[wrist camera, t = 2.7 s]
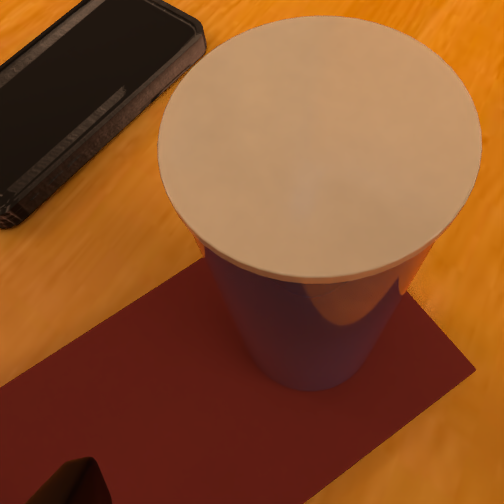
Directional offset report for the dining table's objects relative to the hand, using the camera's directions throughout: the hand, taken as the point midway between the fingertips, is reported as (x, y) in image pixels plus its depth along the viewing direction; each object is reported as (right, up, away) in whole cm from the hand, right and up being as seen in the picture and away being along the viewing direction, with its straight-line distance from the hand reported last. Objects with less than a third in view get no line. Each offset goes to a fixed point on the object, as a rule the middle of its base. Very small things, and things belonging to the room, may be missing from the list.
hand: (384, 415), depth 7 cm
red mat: (-6, -5, +11) cm, 14 cm away
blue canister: (0, 0, +12) cm, 12 cm away
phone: (-12, +11, +19) cm, 24 cm away
